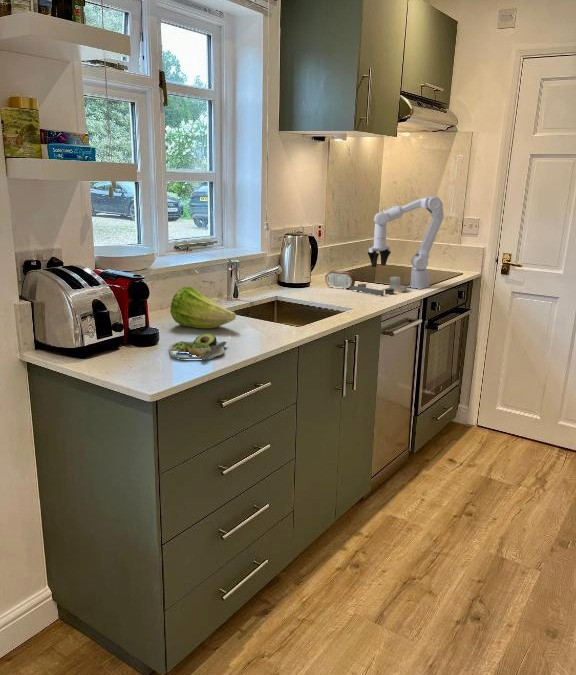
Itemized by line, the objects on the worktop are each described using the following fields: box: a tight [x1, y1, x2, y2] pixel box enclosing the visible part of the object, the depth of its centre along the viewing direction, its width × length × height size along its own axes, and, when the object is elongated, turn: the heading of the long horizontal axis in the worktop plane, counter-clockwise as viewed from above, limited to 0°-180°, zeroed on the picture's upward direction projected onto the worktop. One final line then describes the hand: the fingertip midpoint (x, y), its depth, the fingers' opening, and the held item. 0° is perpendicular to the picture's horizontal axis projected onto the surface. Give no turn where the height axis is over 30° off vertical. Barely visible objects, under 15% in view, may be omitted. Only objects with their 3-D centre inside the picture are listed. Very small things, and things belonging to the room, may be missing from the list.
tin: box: [325, 270, 356, 289], centre depth 281 cm, size 15×3×8 cm, turn 59°
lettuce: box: [169, 286, 237, 329], centre depth 204 cm, size 14×24×15 cm
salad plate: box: [168, 333, 228, 361], centre depth 175 cm, size 19×18×5 cm
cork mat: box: [381, 287, 409, 294], centre depth 277 cm, size 8×10×1 cm
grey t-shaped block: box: [388, 276, 408, 293], centre depth 275 cm, size 4×8×6 cm, turn 45°
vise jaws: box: [350, 283, 395, 297], centre depth 272 cm, size 9×20×2 cm, turn 45°
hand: (378, 266), depth 282 cm, fingers open, 7 cm apart
